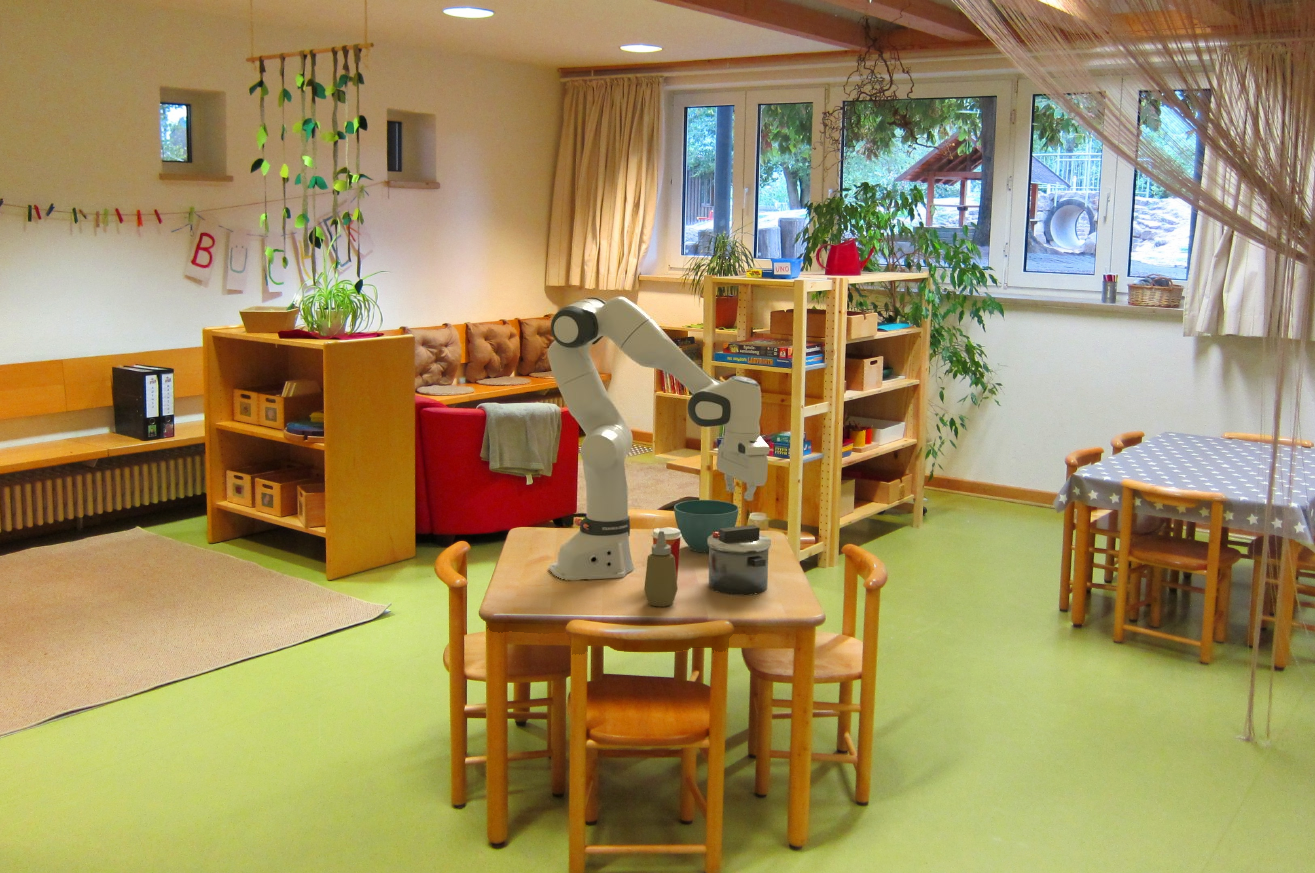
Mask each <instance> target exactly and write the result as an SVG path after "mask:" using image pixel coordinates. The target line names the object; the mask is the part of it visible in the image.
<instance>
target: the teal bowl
mask: <svg viewBox="0 0 1315 873" xmlns="http://www.w3.org/2000/svg"><path fill="white" fill-rule="evenodd" d="M673 511H674V517H675V518H674V519H675V523H676V526H677V529H679V530H680V534H681V535H682V537H681V538H682V539H683V540H684V541H685V543H686V545H687V546H688V547H689V549H690V550H692V551H694V552H698V553H708V554H709V546H708V537H709V536H710V535H713V532H719V529H721V528H730V527H736V524H737V520H738V516H739V505H736V504H734V503H731V502H727V501H725V500H724V501H723V500H722V501H721V500H715V499H714V500H713V499H693V500H686V501H681V502H678V503H676V504H674V507H673Z"/></svg>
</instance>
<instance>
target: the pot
mask: <svg viewBox="0 0 1315 873" xmlns="http://www.w3.org/2000/svg"><path fill="white" fill-rule="evenodd" d="M769 549H770V548H768V549H767V550H764V551H760V552H753V553H731V552H724V551H719V550H716V549H713V548H711V547H709V552H708V554H709V555H708V587H709V589H710V590H712V589H713V590H712V591H714V592H716V591H717V593H719V592H720V593H721V594H723V595H732V596H751V595H750V594H752V595H756V594H755V593H757V594H760V592H761V593H763V592H765V591H766V590H767V589H768V583H769V581H768V580H769V579H768V578H769V576H768V575H769Z"/></svg>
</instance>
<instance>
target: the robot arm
mask: <svg viewBox="0 0 1315 873" xmlns="http://www.w3.org/2000/svg"><path fill="white" fill-rule="evenodd" d="M550 332H551V336H552V338H553V339H554V341H553V342H552V343H551V344H550V345H549V347H548V349H547V358H548V363H549V366H550V369H551V373H552V375H553V376H552V377H553V378H554V381H555V383H556V385H557V388H558V389H559V392H560V394H561V397H562V399H563V402H564V403H565V405H566V406H565V407H567V409H568V412H569V414H570V415H571V417H573V418H574V419H575V421H576V422H577V423H578V425H579V426H580V428H581V429H582V430H583V432H584V434H585V437H584V438H583V440H582V443H581V446H580V456H581V460H582V467H583V474H584V480H585V488H586V495H585V496H586V515H585V516H584V518H583V519H581V518H580V517H578V516H576V517H574V518H573V523H574V525H576V526H578V527H579V531H578V532H577V533H575V534H574V535H573V536H572V537H571V538H569V539H568V540H567V541H566V542H564V543H563V544H562V545H561V546H560V548H559V551H558V556H557V561H556V562H553V563H552V562H551V563H550V564H549V568H548V570H550V571H551V572H552V573H553V574H554V575H555V576H554V575H553V574H552V573H551V572H550V571H549V572H550V573H551V574H552V575H553V576H554V577H556V576H557V577H556V578H558V577H559V578H558V579H560V578H561V580H563V579H565V580H564V581H568V580H571V581H581V580H580V579H588V580H601V579H602V580H604V579H616V578H618V579H620V578H623V577H625V576H626V575H627V574H628V573H630V572H631V571H633V570H634V569H635V566H634V562H633V559H632V558H633V557H632V555H631V554H632V553H631V548H630V538H629V537H630V534H631V533H630V532H631V523H630V522H631V520H630V519H631V518H630V516H629V485H628V482H627V476H626V475H627V474H626V468H625V459H626V457H627V456H628V455H629V453H630V452H631V450H632V447H633V444H634V443H633V442H634V438H633V433H632V430H631V428H630V427H629V426H628V425H627V423H626V421H625V420H624V417H622V415H621V413H620V412H619V410H618V409H617V407H616V406H615V404H614V402H613V400H612V399H611V398H610V395H609V393H608V392H607V389H606V388H605V385H604V383H603V381H602V379H601V376H600V374H599V372H598V369H597V368H596V365H595V363H594V360H593V359H592V356H591V352H590V351H591V346H592V345H596V344H597V343H598V342H599V341H600V340H601V339H603V337H605V338H608V339H609V340H611V341H612V342H613V343H614V344H615V345H616V346H617V347H618V348H619V350H621V351H622V352H623V353H624V354H625V355H626V356H627V357H628V358H629V359H631V360H632V361H633V362H635V363H636V364H638V365H639V366H641V367H645V368H651V369H656V370H661V371H663V372H666V373H667V374H669V375H671V376H672V377H674V379H676V380H677V381H678V382H679V383H680V384H682V386H684V387H685V388H686V389H687V390H688V391H689V392H690V393H691V394H692V396H691V397H689V400H688V403H687V413H688V416H689V418H690V420H691V421H692V422H693V423H694V424H696V425H697V426H700V427H704V428H711V427H712V428H713V427H720V426H723V427H724V436H723V437H722V439H721V441H720V444H719V445H718V449H717V455H716V463H715V465H716V469H717V471H719V472H721V473H723V474H724V476H723V477H724V480H725V481H724V482H725V486H726V487H725V490H726V492H729V493H734V492H735V491H736V485H735V482H734V479H736V480H739V481H741V482H743V483H745V484H746V486H745V487H746V491H745V492H744V494H743V496H744V497H743V499H744V500H745V501H748V502H750V501H753V500H754V493H755V492H756V490H757V487H761V486H763V487H764V486H765V484H766V482H767V479H768V469H769V468H768V466H769V461H768V460H769V459H768V455H769V454H770V446H769V445H768V444H767V443H766V441H765V440H764V438H763V437H762V436H761V426H760V419H761V415H762V390H761V386H760V384H759V383H758V381H756V380H754V379H753V378H751V377H747V376H743V375H741V376H739V375H732V376H730V377H729V378H728V379H727V380H725V381H721V380H717V379H715V378H714V377H712V376H710V375H709V374H708V373H707V372H706V371H705V370H704V369H702V368H701V367H700V366H699V364H697V363H696V362H695V361H693V359H692V358H691V357H689V356H688V355H687V354H686V353H685V352H684V351H683V350H682V349H681V348H680V347H679V346H678V345H677V344H676V343H675V342H674V341H673V340H672V339H671V338H670V336H668V334H667V333H666V332H665V331H664V330H663V329H662V327H661V326H659V324H658V323H657V322H656V321H655V320H654V319H653V318H652V317H651V316H650V315H649V314H647V312H646V311H645V310H643V309H642V308H640V307H639V306H638V305H637V304H636V303H635V302H633V301H631V300H629V299H628V298H627V297H625V296H622V295H621V296H614V297H612V298H610V299H608V300H604V299H602V298H600V297H587V298H585V299H581V300H577V301H574V302H572V303H570V304H569V305H567V306H564V307H562V308H560V309H559V310H558V311H557V312H556V313H555V314H554V315H553V317H552V319H551V322H550Z"/></svg>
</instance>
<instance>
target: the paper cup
mask: <svg viewBox="0 0 1315 873" xmlns="http://www.w3.org/2000/svg"><path fill="white" fill-rule="evenodd" d="M659 531H664V535H665V539H666V544H667V545H670V546H671V553H670V554H672V555H673V556H674V557H675V566H676V577H677V579H678V577H679V576H678V575H679V564H680V562H679V561H680V549H681V538H683V537H682V535H681V534H680V530H679V529H678V527H677V528H676V527H667V526H666V527H659V528H658V527H656V528H654V529H653V532H652V534H651V537H652V544H653V545H655V544H656V543H657V538H658V534H659ZM653 545H652V546H653Z"/></svg>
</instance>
